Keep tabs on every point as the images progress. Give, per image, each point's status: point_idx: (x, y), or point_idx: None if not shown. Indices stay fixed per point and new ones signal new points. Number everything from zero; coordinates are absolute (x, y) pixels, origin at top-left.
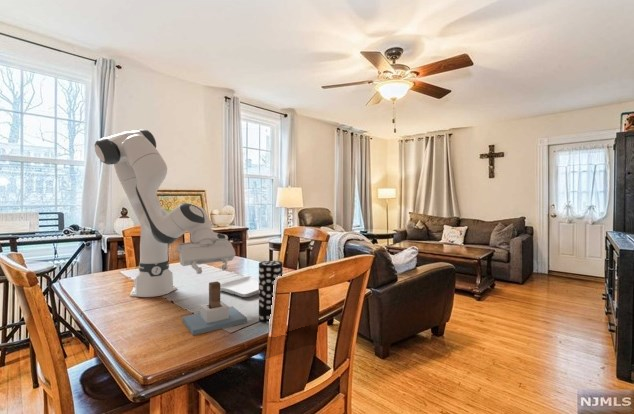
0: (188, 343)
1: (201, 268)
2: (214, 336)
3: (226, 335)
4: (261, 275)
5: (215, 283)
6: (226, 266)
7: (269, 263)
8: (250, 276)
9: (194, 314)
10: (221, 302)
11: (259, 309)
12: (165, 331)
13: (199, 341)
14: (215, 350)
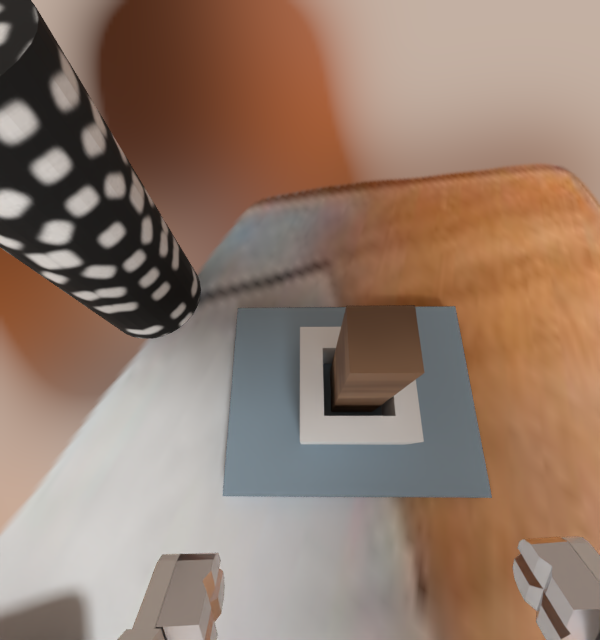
0: (465, 266)
1: (555, 583)
2: (381, 269)
3: (345, 256)
4: (96, 117)
5: (381, 319)
6: (162, 575)
7: None
8: None
9: (431, 489)
10: (310, 413)
11: (184, 275)
12: (549, 408)
13: (432, 261)
14: (398, 192)
